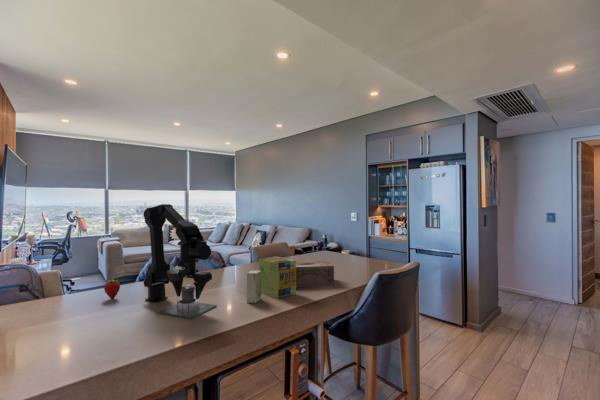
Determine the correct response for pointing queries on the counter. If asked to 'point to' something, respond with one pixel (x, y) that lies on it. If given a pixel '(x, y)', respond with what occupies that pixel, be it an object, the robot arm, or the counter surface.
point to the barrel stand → (187, 309)
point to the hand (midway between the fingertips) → (187, 297)
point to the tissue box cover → (314, 273)
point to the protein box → (278, 276)
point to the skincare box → (253, 286)
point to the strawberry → (112, 288)
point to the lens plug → (187, 294)
